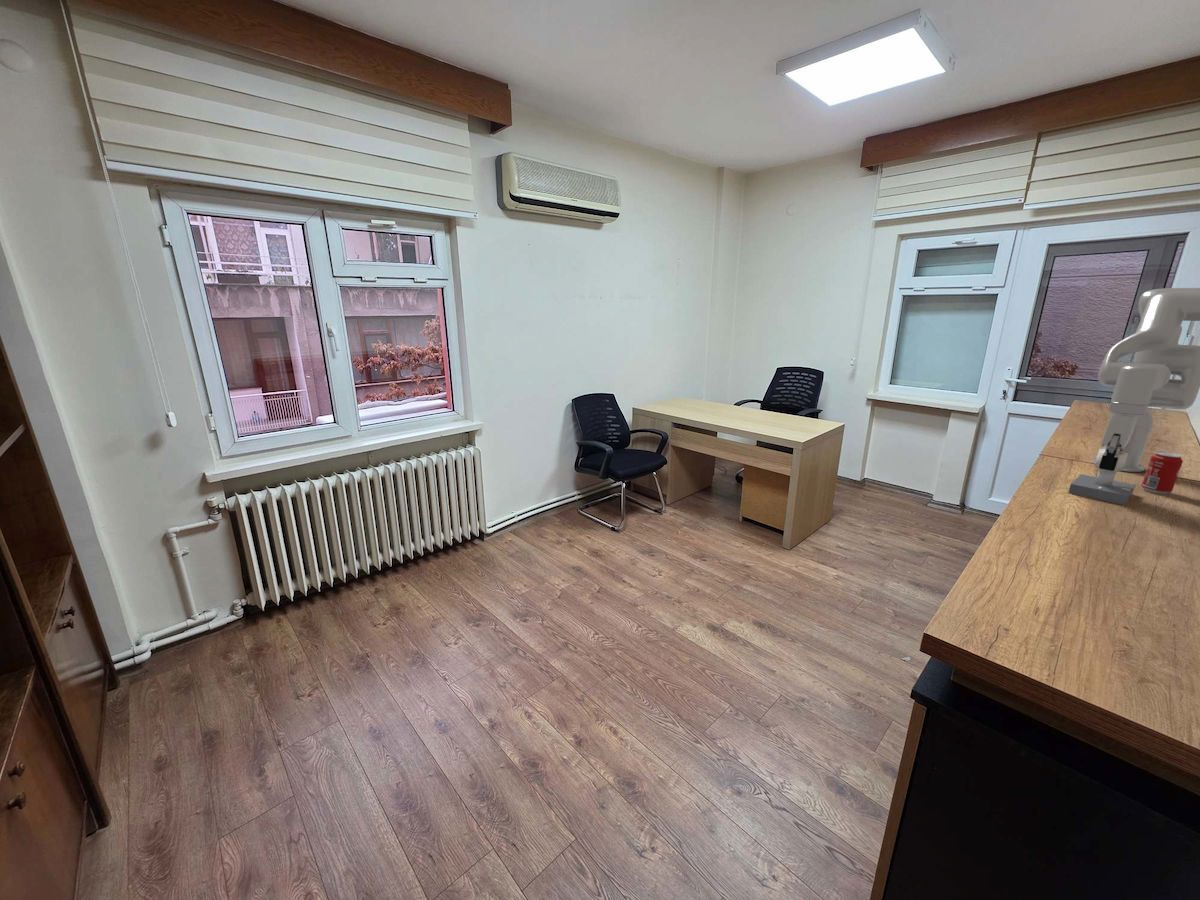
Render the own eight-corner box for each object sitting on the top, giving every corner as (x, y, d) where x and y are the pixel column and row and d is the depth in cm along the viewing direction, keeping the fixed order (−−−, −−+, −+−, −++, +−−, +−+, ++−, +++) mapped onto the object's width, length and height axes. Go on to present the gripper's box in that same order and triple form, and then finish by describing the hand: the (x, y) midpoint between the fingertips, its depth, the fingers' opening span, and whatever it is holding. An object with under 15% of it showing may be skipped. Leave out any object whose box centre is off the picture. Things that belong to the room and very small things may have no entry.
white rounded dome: (1088, 464, 147) (1093, 447, 145) (1108, 464, 147) (1114, 447, 145) (1107, 470, 141) (1113, 453, 139) (1129, 471, 141) (1134, 453, 139)
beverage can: (1177, 495, 145) (1191, 457, 141) (1156, 495, 145) (1169, 457, 142) (1154, 487, 151) (1167, 451, 147) (1134, 487, 151) (1146, 450, 148)
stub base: (1078, 483, 155) (1085, 459, 153) (1132, 494, 146) (1140, 469, 143) (1068, 493, 147) (1075, 468, 144) (1124, 505, 138) (1133, 479, 135)
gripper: (1113, 403, 147) (1096, 458, 152) (1103, 410, 136) (1085, 469, 141) (1150, 407, 141) (1131, 464, 146) (1142, 415, 131) (1122, 476, 136)
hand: (1108, 466), depth 144 cm, fingers open, 7 cm apart
